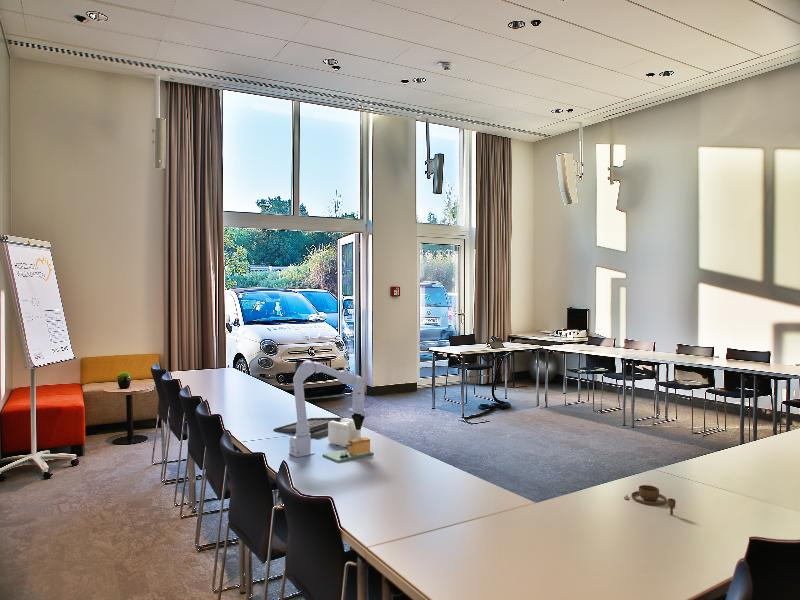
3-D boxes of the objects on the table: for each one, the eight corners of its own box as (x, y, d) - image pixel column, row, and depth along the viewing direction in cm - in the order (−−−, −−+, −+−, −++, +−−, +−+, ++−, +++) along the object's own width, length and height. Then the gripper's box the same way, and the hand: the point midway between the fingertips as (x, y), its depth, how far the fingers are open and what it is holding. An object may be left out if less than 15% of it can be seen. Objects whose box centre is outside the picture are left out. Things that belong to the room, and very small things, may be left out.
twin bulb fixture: (341, 458, 256) (341, 451, 256) (339, 457, 257) (339, 451, 257) (348, 456, 259) (348, 450, 259) (347, 456, 260) (347, 449, 260)
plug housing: (349, 456, 259) (349, 443, 259) (343, 454, 263) (343, 441, 263) (370, 451, 267) (370, 439, 267) (364, 449, 271) (364, 437, 271)
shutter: (274, 441, 311) (318, 441, 295) (273, 429, 311) (316, 428, 295) (312, 426, 338) (354, 426, 322) (311, 415, 338) (352, 414, 322)
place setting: (674, 499, 210) (675, 483, 210) (678, 519, 192) (678, 501, 192) (624, 492, 217) (624, 477, 217) (622, 511, 199) (622, 494, 199)
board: (338, 462, 253) (338, 460, 253) (322, 456, 263) (322, 453, 263) (373, 454, 266) (373, 452, 266) (357, 448, 276) (357, 446, 276)
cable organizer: (362, 444, 283) (362, 421, 283) (346, 448, 276) (346, 425, 276) (342, 439, 294) (342, 417, 294) (326, 443, 286) (326, 420, 286)
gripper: (374, 402, 268) (374, 431, 269) (356, 398, 280) (356, 425, 280) (362, 404, 264) (362, 433, 264) (344, 399, 275) (344, 427, 275)
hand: (358, 429), depth 272 cm, fingers closed
